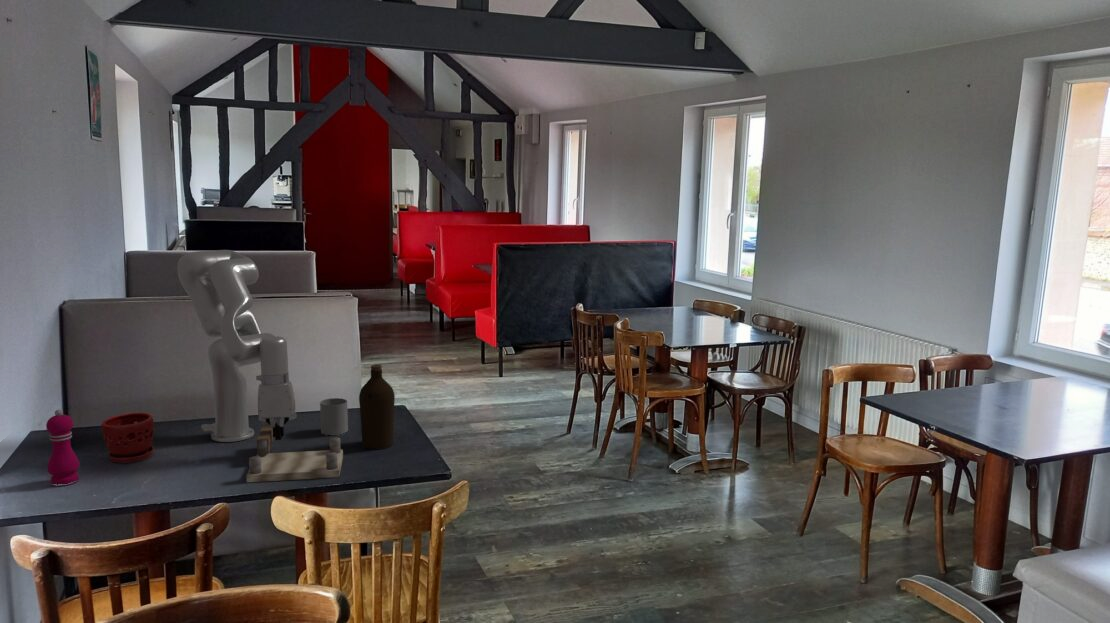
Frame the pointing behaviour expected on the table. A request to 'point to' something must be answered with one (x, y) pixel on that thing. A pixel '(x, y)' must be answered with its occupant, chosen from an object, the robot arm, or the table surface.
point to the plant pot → (129, 437)
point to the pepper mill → (62, 450)
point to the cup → (334, 416)
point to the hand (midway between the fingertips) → (278, 438)
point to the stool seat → (297, 464)
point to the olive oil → (377, 411)
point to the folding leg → (265, 440)
